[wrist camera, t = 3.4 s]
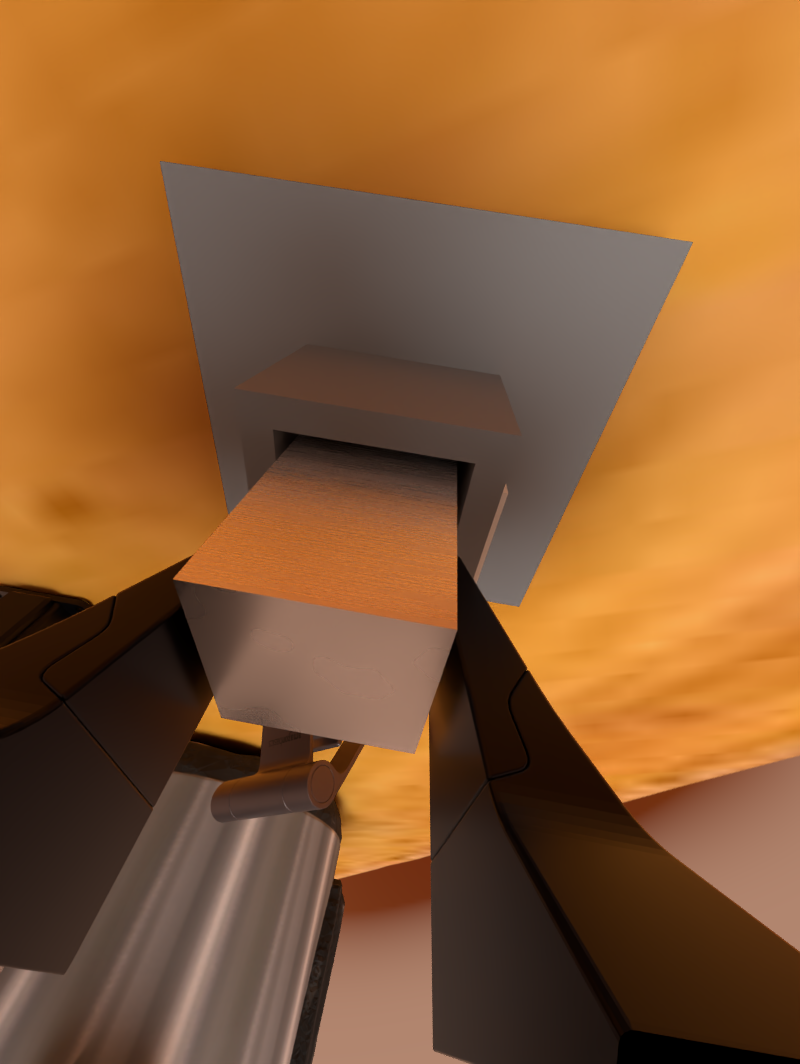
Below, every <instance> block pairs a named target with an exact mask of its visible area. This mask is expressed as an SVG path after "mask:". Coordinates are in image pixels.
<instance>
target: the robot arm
mask: <svg viewBox="0 0 800 1064" xmlns="http://www.w3.org/2000/svg"><path fill="white" fill-rule="evenodd" d="M192 556H193V555H192ZM192 556H190V557H188V558H186V559H184V560H182V561H180V562H178V563H176V564H174V565H172V566H170V567H168V568H167V569H165V570H163V571H161V572H159V573H157V574H155V575H153V576H151V577H149V578H147V579H145V580H143V581H141V582H139V583H137V584H135V585H133V586H131V587H129V588H127V589H125V590H123V591H121V592H119V593H118V594H117V595H116V596H111V597H109V598H107V599H105V600H103V601H101V602H99V603H98V604H96V605H94V606H92V607H91V606H90V605H89V604H88V603H87V602H85V601H82V600H78V599H72V598H67V597H61V596H56V595H50V594H44V593H39V592H33V591H28V590H22V589H17V588H11V587H6V586H0V973H1V971H2V970H3V968H4V967H8V968H15V969H22V970H29V971H37V972H44V973H51V974H58V975H64V974H65V973H66V972H67V970H68V968H69V967H70V965H71V963H72V961H73V960H74V958H75V956H76V954H77V952H78V950H79V949H80V947H81V945H82V943H83V941H84V939H85V937H86V935H87V934H88V932H89V930H90V928H91V926H92V924H93V922H94V920H95V918H96V917H97V915H98V913H99V911H100V909H101V907H102V905H103V903H104V901H105V900H106V898H107V896H108V894H109V892H110V890H111V888H112V886H113V884H114V883H115V881H116V879H117V877H118V875H119V873H120V871H121V869H122V868H123V866H124V864H125V862H126V860H127V858H128V856H129V854H130V852H131V851H132V849H133V847H134V845H135V843H136V841H137V839H138V837H139V835H140V834H141V832H142V830H143V828H144V826H145V824H146V822H147V820H148V818H149V817H150V815H151V813H152V811H153V807H154V806H155V805H156V803H157V801H158V799H159V797H160V795H161V793H162V792H163V790H164V788H165V786H166V784H167V782H168V780H169V778H170V777H171V775H172V773H173V771H174V769H175V767H176V765H177V763H178V761H179V760H180V758H181V756H182V754H183V752H184V750H185V748H186V746H187V744H188V743H189V741H190V739H191V737H192V735H193V733H194V731H195V729H196V728H197V726H198V724H199V722H200V720H201V718H202V716H203V714H204V712H205V711H206V709H207V707H208V705H209V703H210V701H211V699H212V697H213V692H212V690H211V687H210V684H209V681H208V678H207V675H206V673H205V670H204V667H203V664H202V661H201V658H200V656H199V653H198V650H197V647H196V644H195V641H194V639H193V636H192V633H191V630H190V627H189V624H188V622H187V619H186V616H185V613H184V610H183V607H182V605H181V602H180V599H179V596H178V593H177V590H176V588H175V585H174V582H173V578H174V577H175V576H176V575H177V573H178V572H179V571H180V570H181V569H182V568H183V567H184V565H185V564H186V563H187V562H188V561H189V560H190V559H191V557H192ZM526 670H527V666H526V665H525V663H524V661H523V660H522V658H521V657H520V655H519V653H518V652H517V650H516V648H515V647H514V645H513V643H512V642H511V640H510V638H509V637H508V635H507V634H506V632H505V630H504V629H503V627H502V625H501V624H500V622H499V620H498V619H497V617H496V615H495V614H494V612H493V610H492V609H491V607H490V606H489V604H488V602H487V601H486V599H485V597H484V596H483V594H482V592H481V591H480V589H479V587H478V586H477V584H476V583H475V581H474V579H473V578H472V576H471V574H470V573H469V571H468V569H467V568H466V566H465V564H464V563H463V561H462V559H461V558H460V557H459V556H457V632H456V635H455V638H454V641H453V644H452V647H451V650H450V653H449V655H448V658H447V661H446V664H445V667H444V670H443V673H442V676H441V679H440V682H439V684H438V687H437V690H436V693H435V696H434V699H433V702H432V705H431V708H430V711H429V753H430V837H431V860H432V862H431V926H432V1003H433V1050H434V1051H435V1052H438V1053H441V1054H444V1055H446V1056H449V1057H452V1058H455V1059H458V1060H461V1061H464V1062H466V1063H469V1064H800V952H799V951H798V950H797V949H795V948H794V947H793V946H791V945H790V944H789V943H788V942H786V941H785V940H784V939H782V938H781V937H780V936H778V935H777V934H775V933H774V932H773V931H772V930H770V929H769V928H768V927H766V926H765V925H764V924H762V923H761V922H760V921H758V920H757V919H756V918H754V917H753V916H752V915H751V914H749V913H748V912H746V911H745V910H744V909H743V908H741V907H740V906H739V905H737V904H736V903H735V902H733V901H732V900H731V899H729V898H728V897H727V896H725V895H724V894H723V893H721V892H720V891H719V890H717V889H716V888H715V887H713V886H712V885H711V884H709V883H708V882H707V881H705V880H704V879H703V878H702V877H700V876H699V875H697V874H696V873H695V872H694V871H692V870H691V869H690V868H688V867H687V866H686V865H684V864H683V863H682V862H680V861H679V860H678V859H676V858H675V857H674V856H673V855H671V854H670V853H669V852H668V851H666V850H665V849H664V848H663V847H662V846H661V845H660V844H659V843H658V842H656V841H655V840H654V839H653V838H652V837H651V836H650V835H649V834H648V833H647V832H646V831H645V830H644V828H642V826H641V825H640V824H639V823H638V822H637V821H636V819H635V818H634V817H633V816H632V815H631V813H630V812H629V811H628V810H627V808H626V807H625V806H624V805H623V803H622V802H621V800H620V799H619V798H618V796H617V795H616V794H615V792H614V791H613V790H612V788H611V787H610V786H609V784H608V783H607V782H606V780H605V779H604V778H603V776H602V775H601V774H600V772H599V771H598V770H597V768H596V767H595V766H594V764H593V763H592V762H591V760H590V759H589V757H588V756H587V755H586V753H585V752H584V751H583V749H582V748H581V747H580V745H579V744H578V743H577V741H576V740H575V739H574V737H573V736H572V735H571V733H570V732H569V730H568V729H567V728H566V726H565V725H564V723H563V722H562V721H561V719H560V718H559V716H558V715H557V713H556V712H555V711H554V709H553V708H552V706H551V705H550V703H549V701H548V700H547V698H546V697H545V695H544V694H543V692H542V691H541V689H540V687H539V686H538V684H537V683H536V681H535V679H534V678H533V676H532V674H531V673H530V671H528V670H527V671H526Z"/></svg>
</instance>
